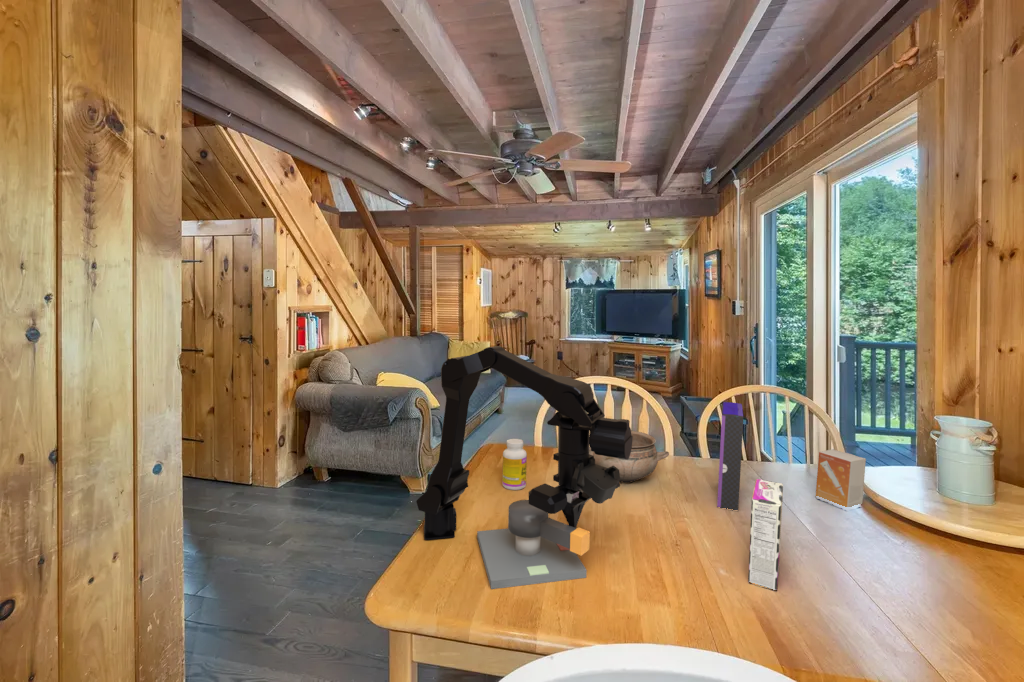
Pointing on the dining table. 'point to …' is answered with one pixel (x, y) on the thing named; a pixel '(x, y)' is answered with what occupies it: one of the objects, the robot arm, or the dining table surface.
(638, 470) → the cooking pot
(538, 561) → the base
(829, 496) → the small box
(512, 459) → the supplement bottle
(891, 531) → the dining table surface
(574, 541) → the lock lever handle
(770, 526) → the candy bar box
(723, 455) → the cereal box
